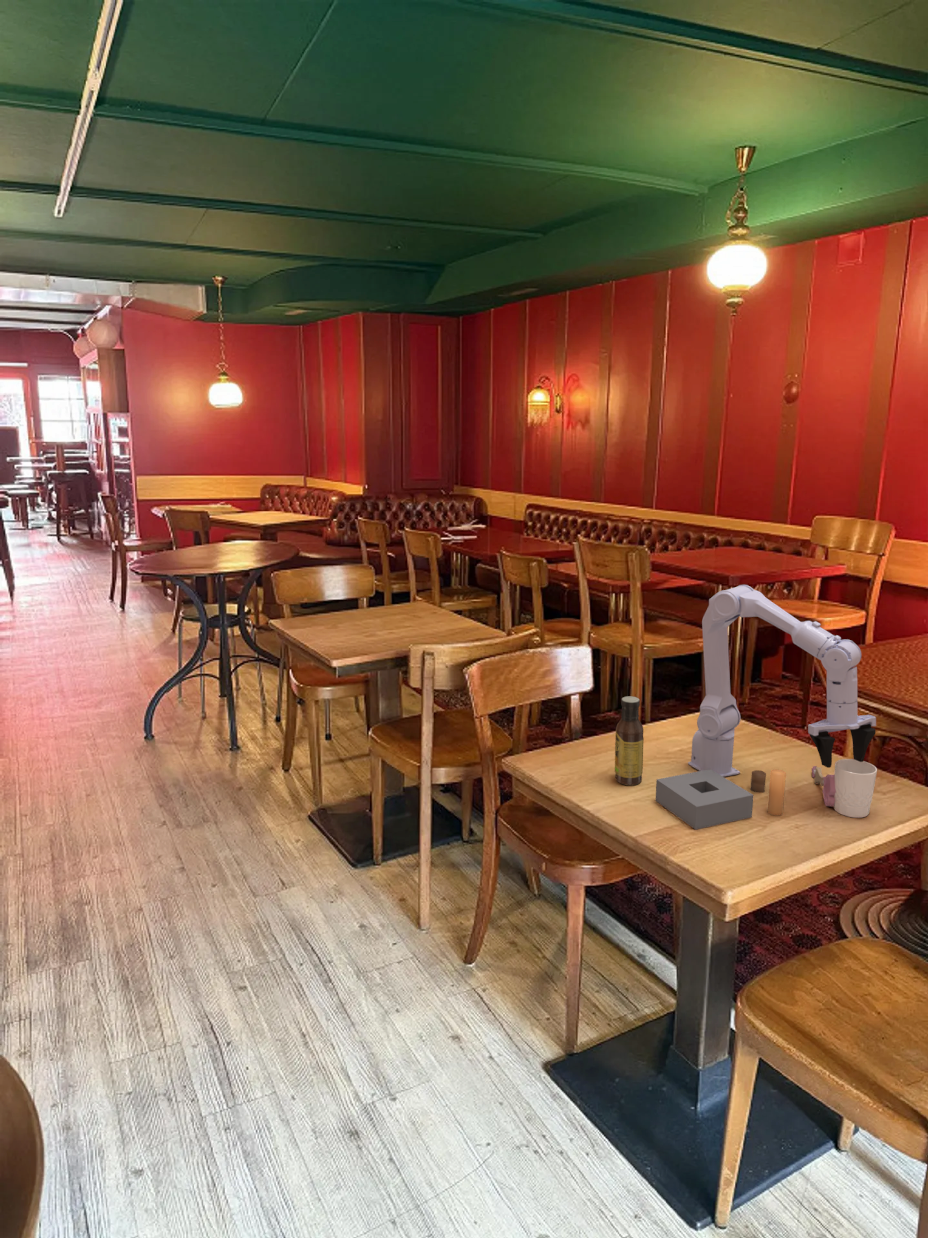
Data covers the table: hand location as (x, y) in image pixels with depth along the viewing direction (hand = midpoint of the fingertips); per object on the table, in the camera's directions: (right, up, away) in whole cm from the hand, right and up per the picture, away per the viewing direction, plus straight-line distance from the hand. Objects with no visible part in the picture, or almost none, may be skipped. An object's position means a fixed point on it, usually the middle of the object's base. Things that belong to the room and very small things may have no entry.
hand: (842, 763), depth 169 cm
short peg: (-13, -8, +12) cm, 20 cm away
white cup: (+2, -10, +2) cm, 11 cm away
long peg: (-14, -11, +1) cm, 17 cm away
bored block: (-28, -10, +3) cm, 30 cm away
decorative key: (0, -8, +11) cm, 14 cm away
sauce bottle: (-41, -7, +17) cm, 45 cm away
